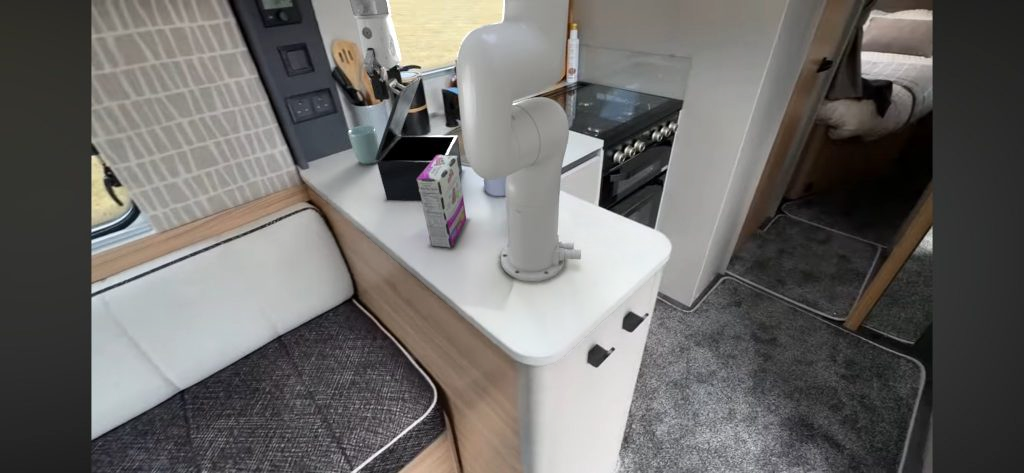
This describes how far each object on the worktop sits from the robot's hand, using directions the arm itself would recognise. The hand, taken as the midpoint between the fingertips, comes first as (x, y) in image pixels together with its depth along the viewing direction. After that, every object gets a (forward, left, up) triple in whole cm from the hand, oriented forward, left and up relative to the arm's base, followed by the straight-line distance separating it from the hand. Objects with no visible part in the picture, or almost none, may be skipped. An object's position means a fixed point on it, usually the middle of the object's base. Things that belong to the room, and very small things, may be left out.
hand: (389, 93), depth 88 cm
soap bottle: (-25, +2, -25) cm, 35 cm away
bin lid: (-1, 0, -6) cm, 6 cm away
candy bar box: (-16, +22, -25) cm, 37 cm away
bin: (-5, 0, -25) cm, 25 cm away
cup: (+17, -15, -25) cm, 34 cm away
